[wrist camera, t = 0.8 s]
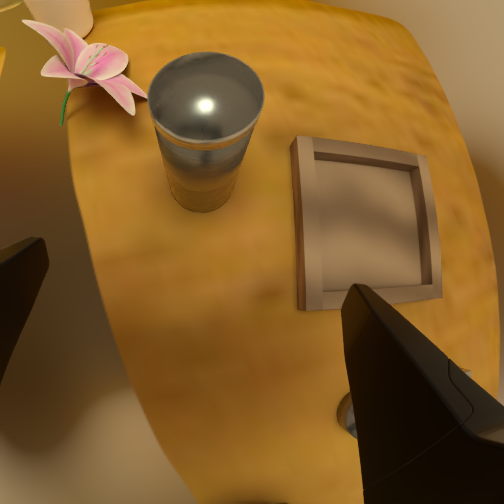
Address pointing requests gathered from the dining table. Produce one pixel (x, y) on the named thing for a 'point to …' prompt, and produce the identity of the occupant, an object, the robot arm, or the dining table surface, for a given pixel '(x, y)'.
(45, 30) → the lily
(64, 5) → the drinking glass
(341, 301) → the taupe tray
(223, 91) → the polished metal cylinder
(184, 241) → the dining table surface
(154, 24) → the dining table surface
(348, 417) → the grey ratchet handle
